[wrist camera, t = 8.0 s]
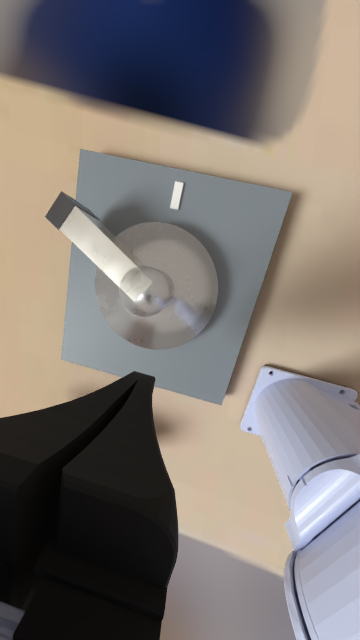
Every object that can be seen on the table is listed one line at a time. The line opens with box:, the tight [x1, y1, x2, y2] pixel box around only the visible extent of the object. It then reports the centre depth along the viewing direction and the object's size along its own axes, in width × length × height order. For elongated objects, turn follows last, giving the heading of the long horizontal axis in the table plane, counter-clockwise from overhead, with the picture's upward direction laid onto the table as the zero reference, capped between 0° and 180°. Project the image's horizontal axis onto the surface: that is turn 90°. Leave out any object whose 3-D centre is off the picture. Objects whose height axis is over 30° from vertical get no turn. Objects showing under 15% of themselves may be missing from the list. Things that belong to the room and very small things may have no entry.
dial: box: [45, 191, 218, 350], centre depth 15 cm, size 11×14×4 cm
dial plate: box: [61, 149, 293, 405], centre depth 18 cm, size 18×20×2 cm
